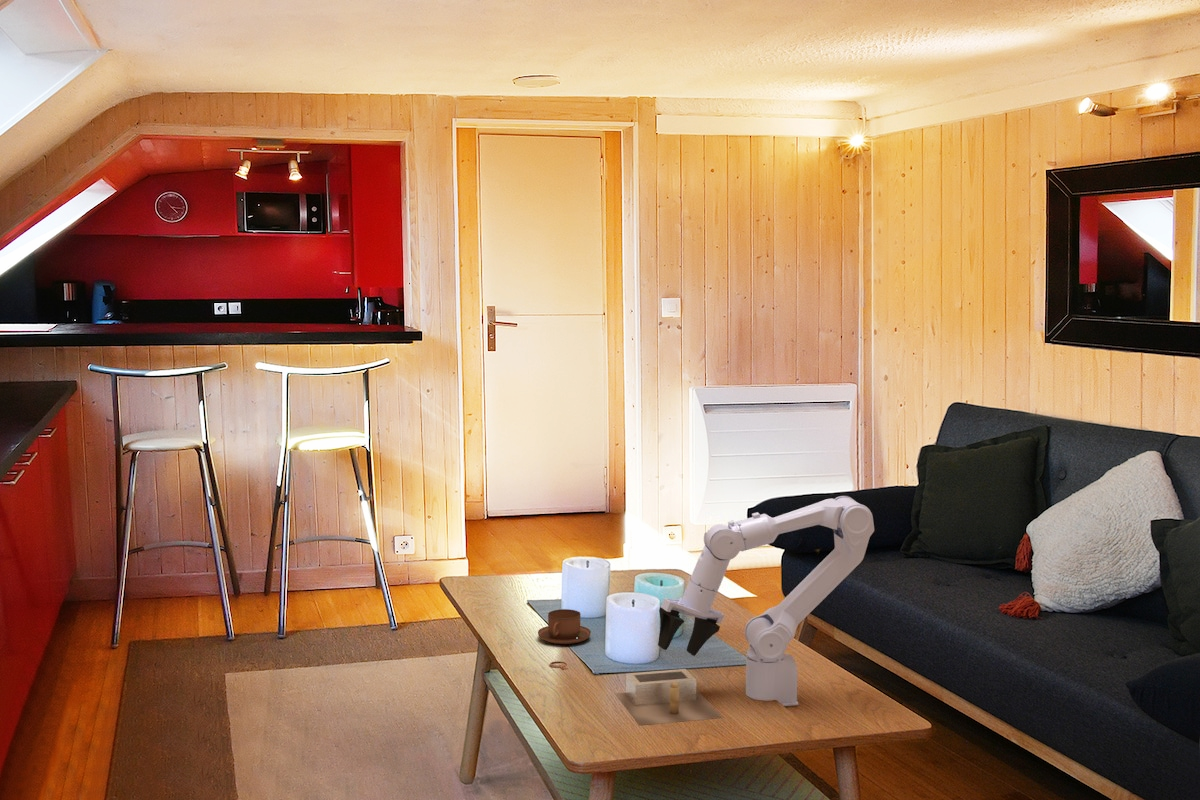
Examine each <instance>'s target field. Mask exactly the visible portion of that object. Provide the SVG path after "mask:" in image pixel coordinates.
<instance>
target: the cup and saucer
mask: <svg viewBox="0 0 1200 800" xmlns="http://www.w3.org/2000/svg"><path fill="white" fill-rule="evenodd" d="M581 615H582V614H581V612H580V611H578V610H575V609H567V608H565V609H563V608H562V609H554V610H551V611H549V612H548V613H547V618H548V619H547V623H548V624H547V626H544V627H542V628H540V629H539V630H538V631H537V635H538V637H539V638H540V639H541V640H543V641H545V642H547V643H550V644H557V645H570V644H571V645H572V644H576V643H578V644H579V643H581V642H584V641H585V640H587V639H588V638H589V637H590V636H591V633H592V631H591V629H589V628H588V627H585V626H582V625H581ZM576 637H578V639H576Z"/></svg>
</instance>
